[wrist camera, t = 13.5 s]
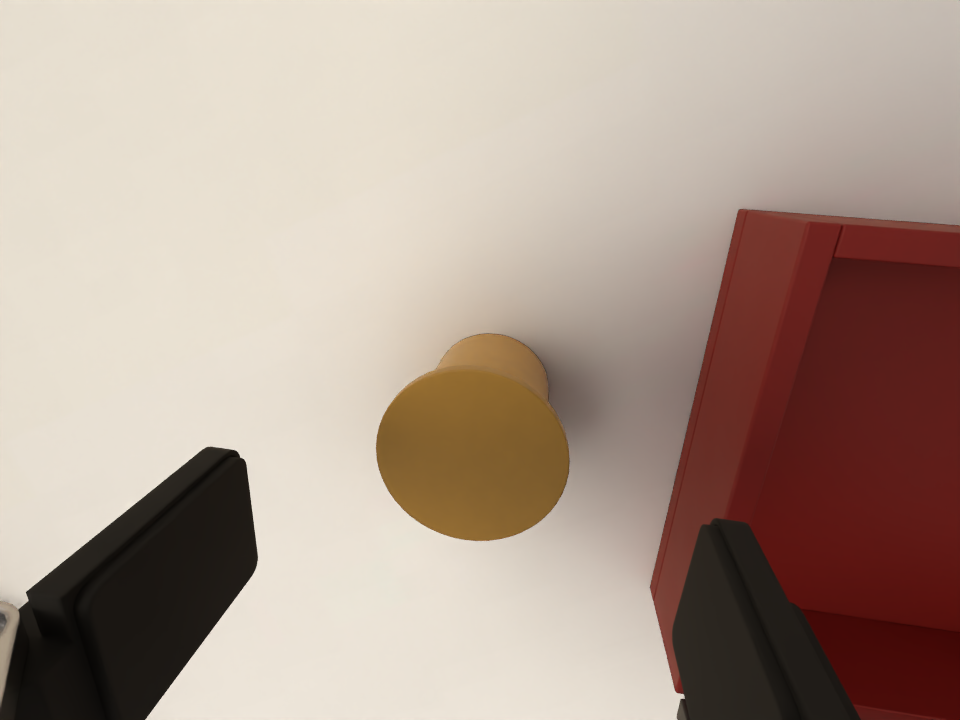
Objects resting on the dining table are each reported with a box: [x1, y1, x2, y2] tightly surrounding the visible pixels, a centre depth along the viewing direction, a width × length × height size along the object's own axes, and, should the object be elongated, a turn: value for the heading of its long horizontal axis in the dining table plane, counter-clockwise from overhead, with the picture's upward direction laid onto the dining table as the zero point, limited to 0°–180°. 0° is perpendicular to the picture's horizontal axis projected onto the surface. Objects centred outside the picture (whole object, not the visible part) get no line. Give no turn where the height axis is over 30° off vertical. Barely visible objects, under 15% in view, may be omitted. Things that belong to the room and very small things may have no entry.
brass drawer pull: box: [376, 334, 569, 541], centre depth 17 cm, size 6×6×5 cm
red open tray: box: [650, 209, 960, 720], centre depth 16 cm, size 16×15×5 cm
